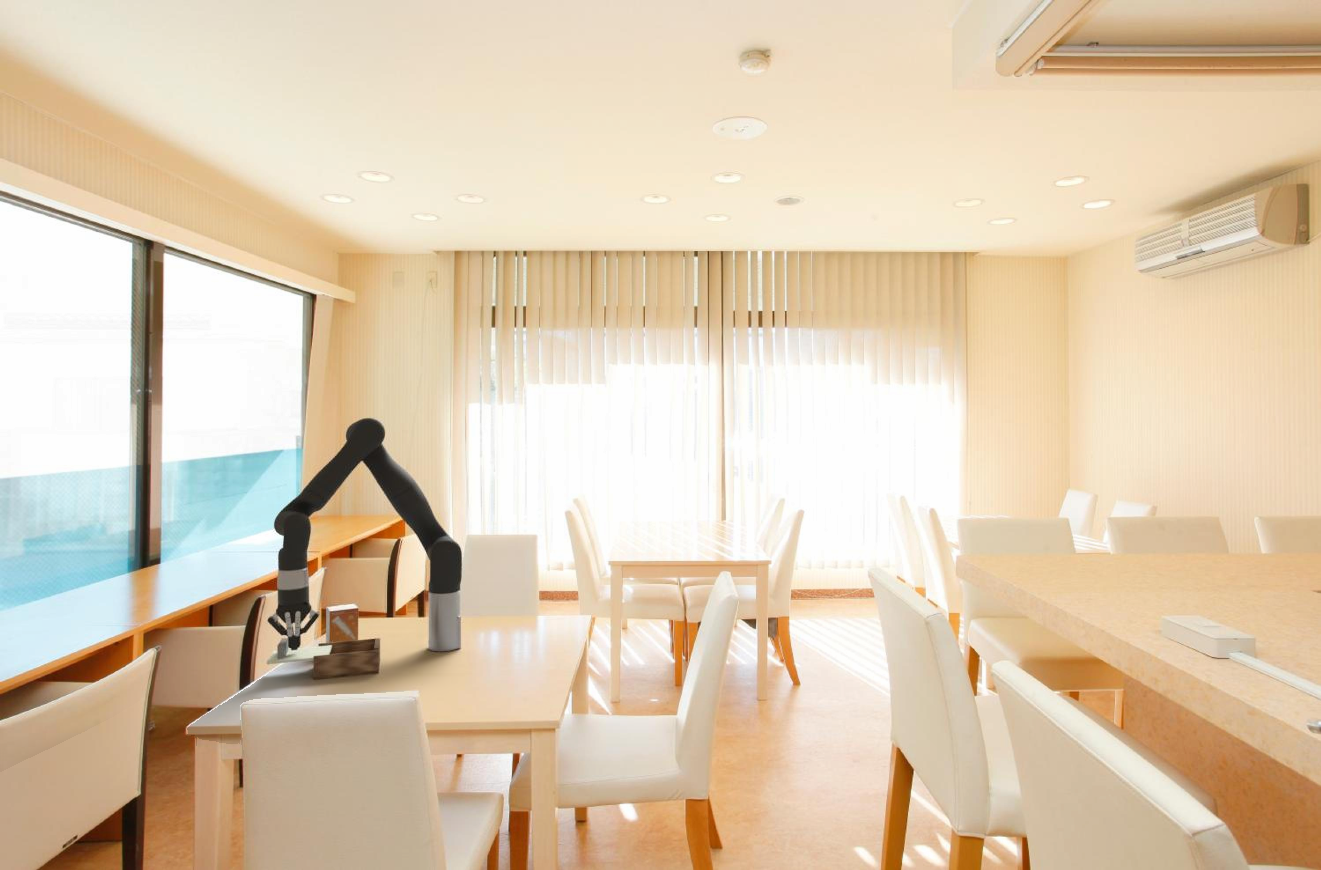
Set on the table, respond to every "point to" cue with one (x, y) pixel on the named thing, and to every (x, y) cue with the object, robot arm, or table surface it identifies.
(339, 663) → the walnut box
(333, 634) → the small box
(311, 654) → the cover plate
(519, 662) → the table surface
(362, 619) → the table surface
